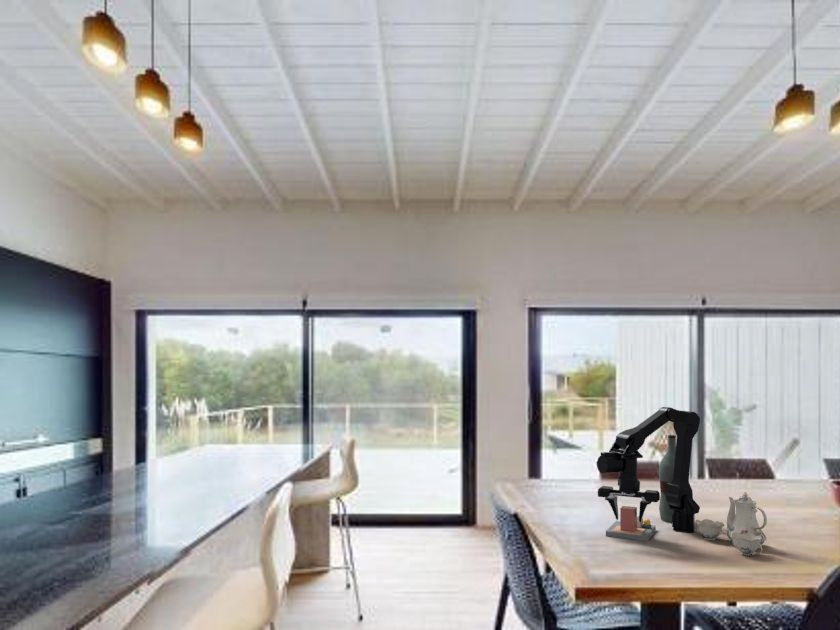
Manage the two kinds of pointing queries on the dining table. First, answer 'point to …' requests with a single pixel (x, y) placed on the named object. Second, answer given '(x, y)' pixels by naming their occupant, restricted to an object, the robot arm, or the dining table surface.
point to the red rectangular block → (628, 518)
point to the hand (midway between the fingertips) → (628, 520)
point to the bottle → (667, 478)
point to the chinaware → (738, 526)
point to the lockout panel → (641, 533)
